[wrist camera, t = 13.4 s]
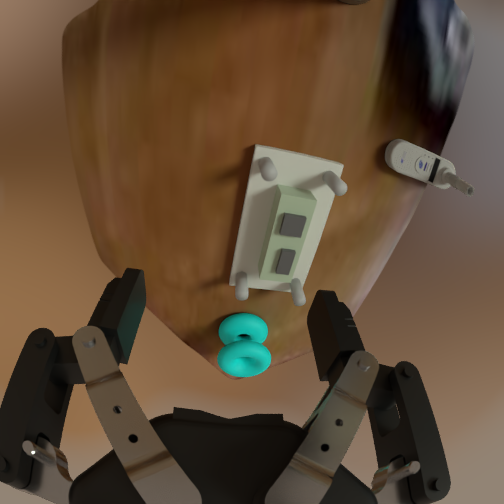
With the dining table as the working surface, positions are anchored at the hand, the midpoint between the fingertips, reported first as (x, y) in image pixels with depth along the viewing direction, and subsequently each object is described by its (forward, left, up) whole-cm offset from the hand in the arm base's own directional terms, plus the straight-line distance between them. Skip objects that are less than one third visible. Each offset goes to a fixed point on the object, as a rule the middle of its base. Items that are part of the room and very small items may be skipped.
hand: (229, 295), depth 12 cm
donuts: (+34, +7, -30) cm, 46 cm away
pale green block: (+10, +9, -28) cm, 31 cm away
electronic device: (-6, +30, -30) cm, 43 cm away
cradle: (+10, +9, -30) cm, 33 cm away
